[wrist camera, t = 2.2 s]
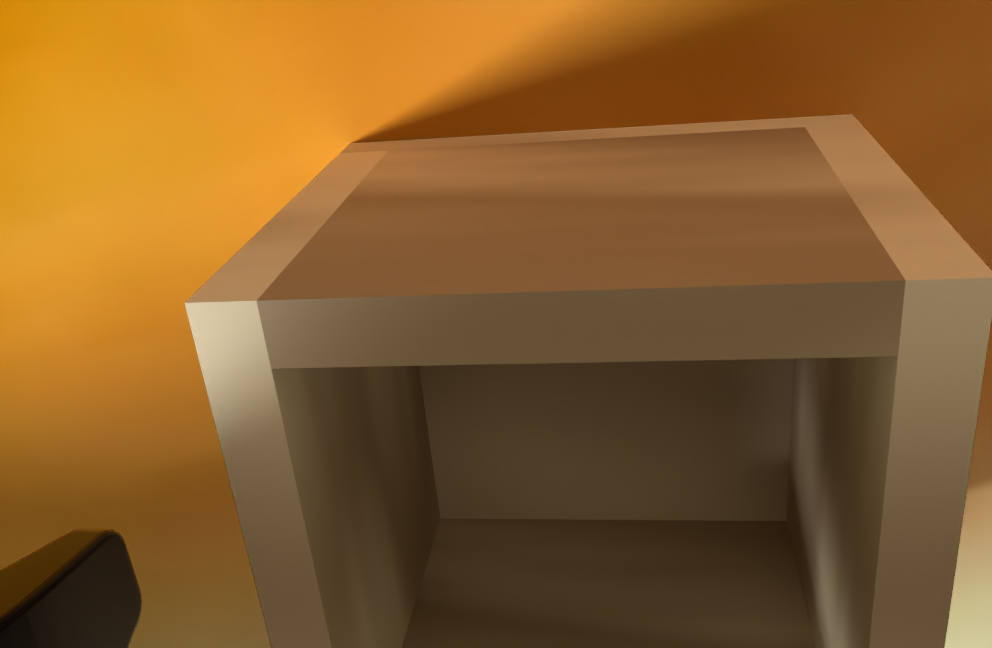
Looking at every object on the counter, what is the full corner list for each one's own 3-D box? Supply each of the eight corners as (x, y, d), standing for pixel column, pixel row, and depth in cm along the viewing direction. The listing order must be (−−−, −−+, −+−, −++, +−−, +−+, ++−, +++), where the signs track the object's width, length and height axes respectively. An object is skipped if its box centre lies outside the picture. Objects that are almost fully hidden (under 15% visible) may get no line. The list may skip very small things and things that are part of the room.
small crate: (821, 530, 14) (914, 855, 9) (413, 526, 14) (315, 820, 10) (850, 111, 11) (998, 277, 7) (353, 140, 12) (183, 302, 7)
